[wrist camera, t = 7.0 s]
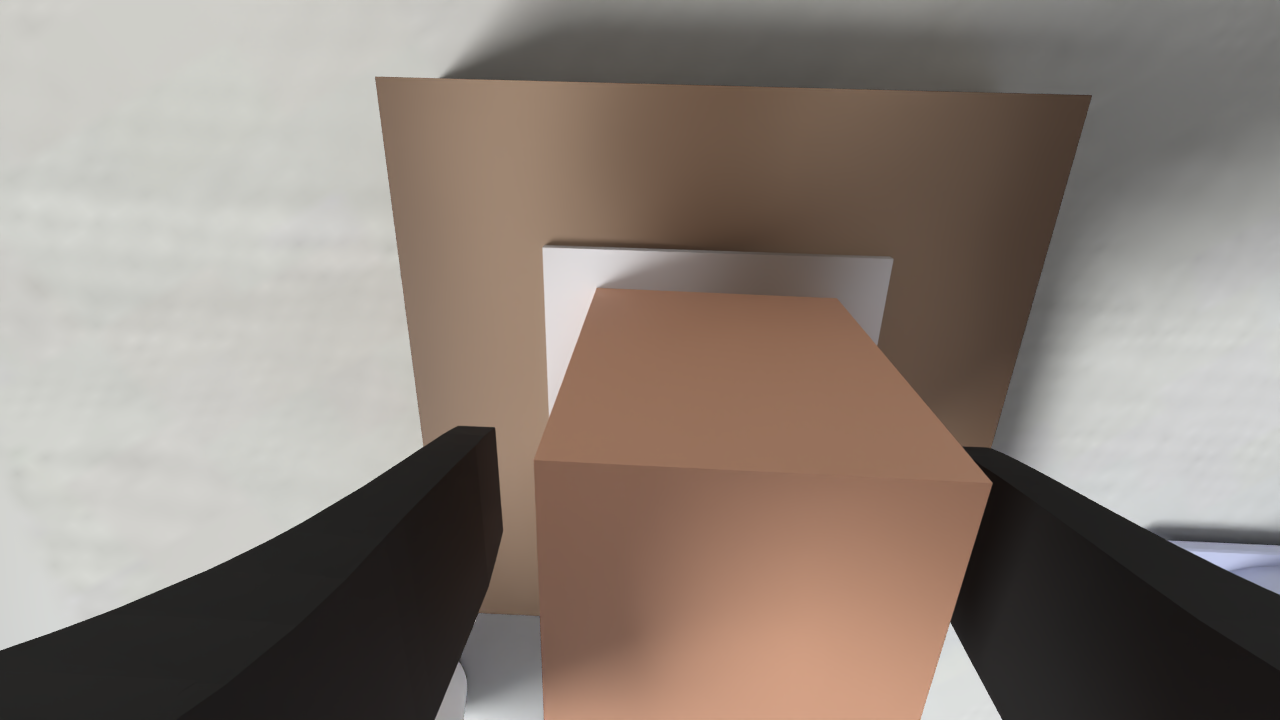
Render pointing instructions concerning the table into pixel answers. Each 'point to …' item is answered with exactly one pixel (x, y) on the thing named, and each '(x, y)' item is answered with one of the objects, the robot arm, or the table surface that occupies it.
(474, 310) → the walnut pedestal
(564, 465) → the terracotta cube
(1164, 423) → the table surface
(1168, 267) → the table surface
